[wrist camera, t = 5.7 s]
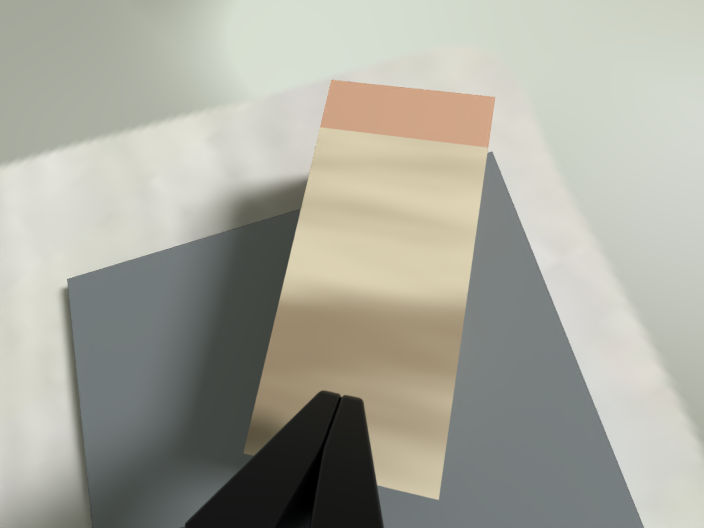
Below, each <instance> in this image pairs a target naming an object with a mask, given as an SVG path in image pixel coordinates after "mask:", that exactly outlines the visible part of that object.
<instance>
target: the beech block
mask: <svg viewBox="0 0 704 528" xmlns="http://www.w3.org/2000/svg"><path fill="white" fill-rule="evenodd" d="M494 102H495V97H490V96H480V95H471V94H461V93H452V92H442V91H432V90H423V89H413V88H404V87H394V86H385V85H375V84H365V83H356V82H346V81H337V80H331V84H330V88H329V92H328V97H327V101H326V105H325V109H324V113H323V118H322V122H321V126H320V130H319V135H318V139H317V143H316V147H315V152H314V156H313V160H312V164H311V169H310V173H309V177H308V181H307V186H306V190H305V194H304V198H303V202H302V207H301V211H300V215H299V219H298V224H297V228H296V232H295V236H294V241H293V245H292V249H291V253H290V258H289V262H288V266H287V270H286V275H285V279H284V283H283V287H282V291H281V296H280V300H279V304H278V308H277V313H276V317H275V321H274V325H273V330H272V334H271V338H270V342H269V347H268V351H267V355H266V359H265V364H264V368H263V372H262V376H261V380H260V385H259V389H258V393H257V397H256V402H255V406H254V410H253V414H252V419H251V423H250V427H249V431H248V436H247V440H246V444H245V448H244V454H248V455H253V456H254V455H255V454H256V453H257V452H258V451H259V450H260V449H261V448H262V447H263V446H264V445H265V444H266V443H267V442H268V441H269V440H270V439H271V438H272V437H273V436H274V435H275V434H276V433H277V432H278V431H279V430H281V429H282V428H283V427H284V426H285V425H286V424H287V423H288V422H289V421H290V420H291V419H292V418H293V417H294V416H295V415H296V414H297V413H298V412H299V411H300V410H301V409H302V408H303V407H304V406H305V405H306V404H307V403H308V402H309V401H310V400H311V399H312V398H313V397H314V396H315V395H316V394H317V393H318V392H320V391H322V390H325V391H330V392H335V393H339V394H340V395H341V397H342V396H343V395H349V396H354V397H358V398H361V399H362V400H363V402H364V407H365V413H366V420H367V426H368V432H369V438H370V444H371V450H372V456H373V462H374V468H375V475H376V481H377V485H378V486H382V487H386V488H390V489H395V490H399V491H403V492H407V493H411V494H416V495H420V496H424V497H428V498H432V499H436V500H439V494H440V487H441V480H442V473H443V466H444V459H445V452H446V444H447V437H448V430H449V423H450V416H451V409H452V402H453V394H454V387H455V380H456V373H457V366H458V359H459V352H460V345H461V337H462V330H463V323H464V316H465V309H466V302H467V295H468V287H469V280H470V273H471V266H472V259H473V252H474V245H475V238H476V230H477V223H478V216H479V209H480V202H481V195H482V188H483V180H484V173H485V166H486V159H487V152H488V145H489V138H490V131H491V123H492V116H493V109H494Z"/></svg>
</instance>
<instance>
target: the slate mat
mask: <svg viewBox="0 0 704 528" xmlns="http://www.w3.org/2000/svg"><path fill="white" fill-rule="evenodd" d="M300 211H301V209H299V210H296V211H292V212H289V213H286V214H282V215H279V216H276V217H272V218H269V219H266V220H262V221H259V222H256V223H252V224H249V225H246V226H242V227H239V228H236V229H232V230H229V231H226V232H222V233H219V234H216V235H212V236H209V237H206V238H203V239H199V240H196V241H193V242H189V243H186V244H183V245H179V246H176V247H173V248H169V249H166V250H163V251H159V252H156V253H153V254H149V255H146V256H143V257H139V258H136V259H133V260H129V261H126V262H123V263H119V264H116V265H113V266H109V267H106V268H103V269H99V270H96V271H93V272H89V273H86V274H83V275H79V276H76V277H73V278H69V279H67V282H68V292H69V302H70V312H71V322H72V332H73V342H74V352H75V361H76V371H77V381H78V391H79V401H80V411H81V421H82V431H83V440H84V450H85V460H86V470H87V480H88V490H89V500H90V510H91V519H92V528H180V527H184V524H185V522H186V521H187V520H189V519H190V518H191V517H192V516H193V515H194V514H195V513H196V512H197V511H198V510H199V509H200V508H201V507H202V506H203V505H204V504H205V503H206V502H207V501H208V500H209V499H210V498H211V497H212V496H213V495H214V494H215V493H216V492H217V491H218V490H219V489H220V488H221V487H222V486H223V485H224V484H225V483H226V482H227V481H228V480H229V479H230V478H231V477H232V476H233V475H235V474H236V473H237V472H238V471H239V470H240V469H241V468H242V467H243V466H244V465H245V464H246V463H247V462H248V461H249V460H250V459H251V458H252V457H253V455H248V454H244V448H245V444H246V440H247V436H248V431H249V427H250V423H251V419H252V414H253V410H254V406H255V402H256V397H257V393H258V389H259V385H260V380H261V376H262V372H263V368H264V364H265V359H266V355H267V351H268V347H269V342H270V338H271V334H272V330H273V325H274V321H275V317H276V313H277V308H278V304H279V300H280V296H281V291H282V287H283V283H284V279H285V275H286V270H287V266H288V262H289V258H290V253H291V249H292V245H293V241H294V236H295V232H296V228H297V224H298V219H299V215H300ZM377 487H378V493H379V499H380V505H381V511H382V517H383V523H384V528H644V527H643V524H642V522H641V519H640V517H639V514H638V512H637V509H636V507H635V504H634V502H633V499H632V497H631V494H630V492H629V489H628V487H627V484H626V482H625V479H624V477H623V475H622V472H621V470H620V467H619V465H618V462H617V460H616V457H615V455H614V452H613V450H612V447H611V445H610V442H609V440H608V437H607V435H606V432H605V430H604V427H603V425H602V422H601V420H600V418H599V415H598V413H597V410H596V408H595V405H594V403H593V400H592V398H591V395H590V393H589V390H588V388H587V385H586V383H585V380H584V378H583V375H582V373H581V370H580V368H579V365H578V363H577V361H576V358H575V356H574V353H573V351H572V348H571V346H570V343H569V341H568V338H567V336H566V333H565V331H564V328H563V326H562V323H561V321H560V318H559V316H558V313H557V311H556V308H555V306H554V304H553V301H552V299H551V296H550V294H549V291H548V289H547V286H546V284H545V281H544V279H543V276H542V274H541V271H540V269H539V266H538V264H537V261H536V259H535V256H534V254H533V251H532V249H531V247H530V244H529V242H528V239H527V237H526V234H525V232H524V229H523V227H522V224H521V222H520V219H519V217H518V214H517V212H516V209H515V207H514V204H513V202H512V199H511V197H510V194H509V192H508V190H507V187H506V185H505V182H504V180H503V177H502V175H501V172H500V170H499V167H498V165H497V162H496V160H495V157H494V155H493V152H489V153H487V159H486V166H485V173H484V180H483V188H482V195H481V202H480V209H479V216H478V223H477V230H476V238H475V245H474V252H473V259H472V266H471V273H470V280H469V287H468V295H467V302H466V309H465V316H464V323H463V330H462V337H461V345H460V352H459V359H458V366H457V373H456V380H455V387H454V394H453V402H452V409H451V416H450V423H449V430H448V437H447V444H446V452H445V459H444V466H443V473H442V480H441V487H440V494H439V500H436V499H432V498H428V497H424V496H420V495H416V494H411V493H407V492H403V491H399V490H395V489H390V488H386V487H382V486H378V485H377Z"/></svg>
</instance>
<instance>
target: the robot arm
mask: <svg viewBox="0 0 704 528" xmlns="http://www.w3.org/2000/svg"><path fill="white" fill-rule="evenodd" d="M180 528H384V523H383V517H382V511H381V505H380V499H379V493H378V487H377V481H376V475H375V468H374V462H373V456H372V450H371V444H370V438H369V432H368V426H367V420H366V413H365V407H364V402H363V400H362V399H361V398H358V397H354V396H349V395H343V396H342V397H341V395H340V394H339V393H335V392H330V391H325V390H322V391H320V392H318V393H317V394H316V395H315V396H314V397H313V398H312V399H311V400H310V401H309V402H308V403H307V404H306V405H305V406H304V407H303V408H302V409H301V410H300V411H299V412H298V413H297V414H296V415H295V416H294V417H293V418H292V419H291V420H290V421H289V422H288V423H287V424H286V425H285V426H284V427H283V428H282V429H281V430H279V431H278V432H277V433H276V434H275V435H274V436H273V437H272V438H271V439H270V440H269V441H268V442H267V443H266V444H265V445H264V446H263V447H262V448H261V449H260V450H259V451H258V452H257V453H256V454H255V455H254V456H253V457H252V458H251V459H250V460H249V461H248V462H247V463H246V464H245V465H244V466H243V467H242V468H241V469H240V470H239V471H238V472H237V473H236V474H235V475H233V476H232V477H231V478H230V479H229V480H228V481H227V482H226V483H225V484H224V485H223V486H222V487H221V488H220V489H219V490H218V491H217V492H216V493H215V494H214V495H213V496H212V497H211V498H210V499H209V500H208V501H207V502H206V503H205V504H204V505H203V506H202V507H201V508H200V509H199V510H198V511H197V512H196V513H195V514H194V515H193V516H192V517H191V518H190V519H189V520H187V521H186V522H185V524H184V527H180Z"/></svg>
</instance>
